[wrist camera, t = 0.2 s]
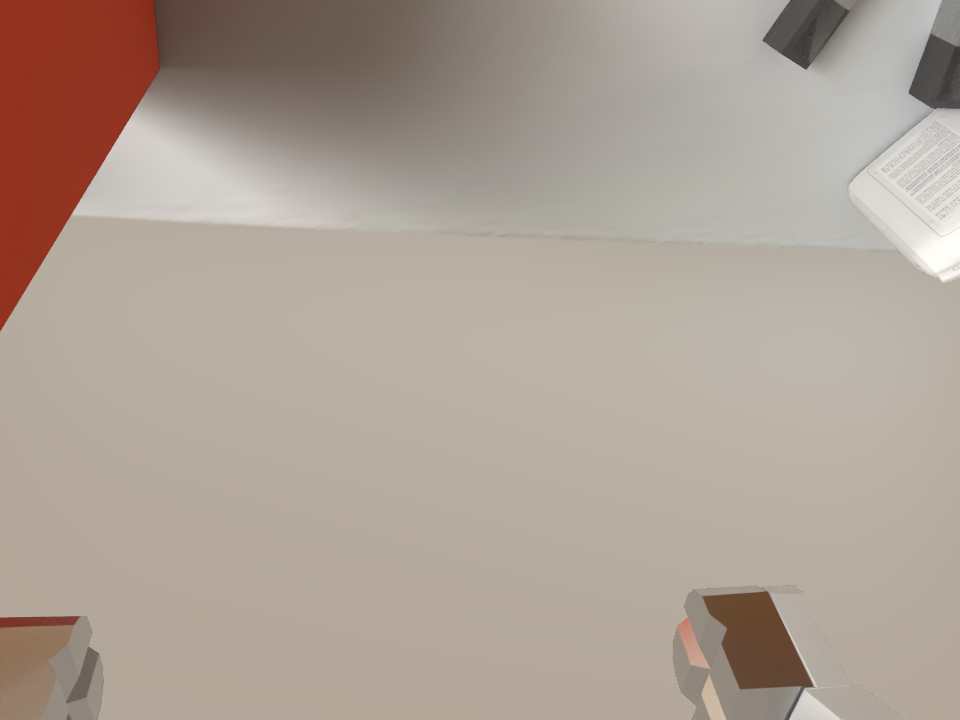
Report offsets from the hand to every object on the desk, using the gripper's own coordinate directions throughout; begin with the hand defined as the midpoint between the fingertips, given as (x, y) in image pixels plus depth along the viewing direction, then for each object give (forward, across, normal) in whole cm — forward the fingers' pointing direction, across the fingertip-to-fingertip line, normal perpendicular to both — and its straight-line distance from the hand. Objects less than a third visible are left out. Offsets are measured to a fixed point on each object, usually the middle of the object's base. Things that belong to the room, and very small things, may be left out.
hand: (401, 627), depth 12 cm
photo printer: (+48, -39, +11) cm, 62 cm away
